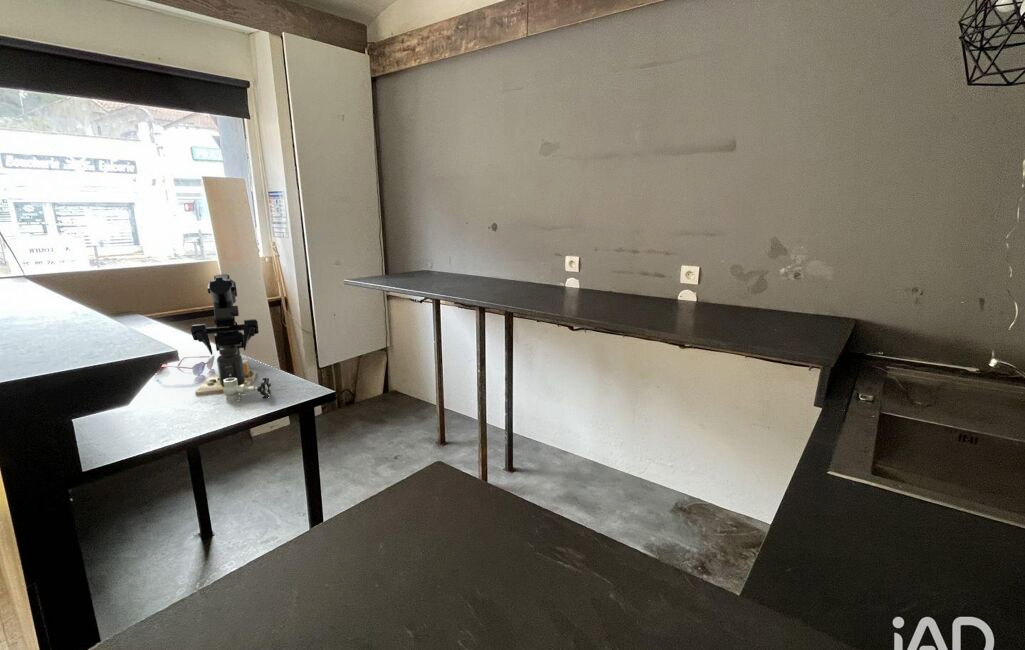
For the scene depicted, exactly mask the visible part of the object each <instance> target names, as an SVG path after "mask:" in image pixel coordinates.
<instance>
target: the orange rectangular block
mask: <svg viewBox="0 0 1025 650" xmlns="http://www.w3.org/2000/svg"><path fill="white" fill-rule="evenodd" d="M242 361H243V368H244V375H249V373H250V371H251V370H250V366H249V364H250V363H249V360H247V359H244V360H243V359H242Z"/></svg>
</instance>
